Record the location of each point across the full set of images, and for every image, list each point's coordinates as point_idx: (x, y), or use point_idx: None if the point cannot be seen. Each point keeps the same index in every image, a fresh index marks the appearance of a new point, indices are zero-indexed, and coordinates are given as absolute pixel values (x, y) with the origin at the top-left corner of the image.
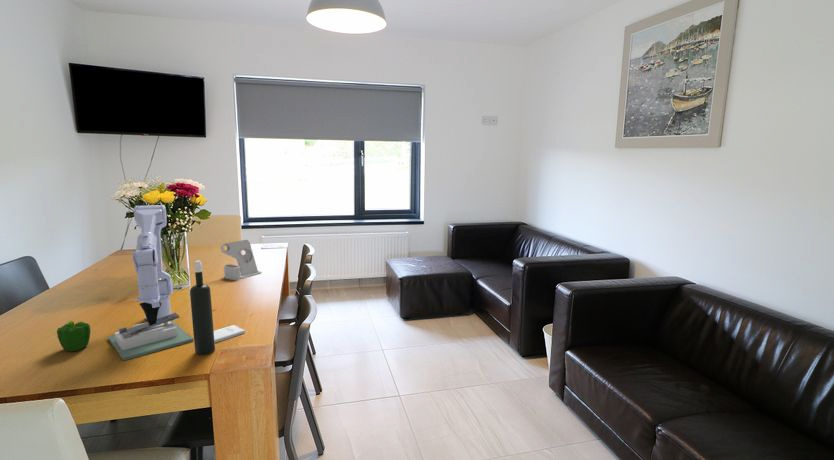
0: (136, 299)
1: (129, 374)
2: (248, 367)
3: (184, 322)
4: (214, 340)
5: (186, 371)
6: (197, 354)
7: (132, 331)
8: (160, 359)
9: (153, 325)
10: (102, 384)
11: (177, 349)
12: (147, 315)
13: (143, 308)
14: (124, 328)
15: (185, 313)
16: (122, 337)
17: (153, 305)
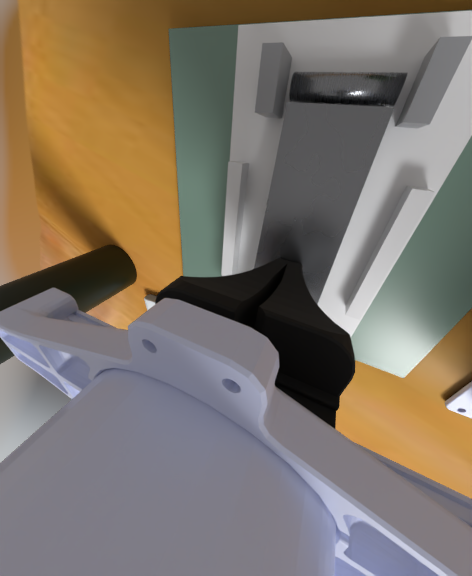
0: (179, 349)
1: (59, 26)
2: (40, 259)
3: (360, 380)
4: (146, 306)
5: (45, 182)
6: (107, 245)
7: (285, 138)
8: (124, 168)
9: (256, 261)
10: None
11: (163, 237)
12: (245, 273)
13: (186, 278)
14: (412, 102)
15: (456, 445)
16: (311, 55)
17: (28, 303)
